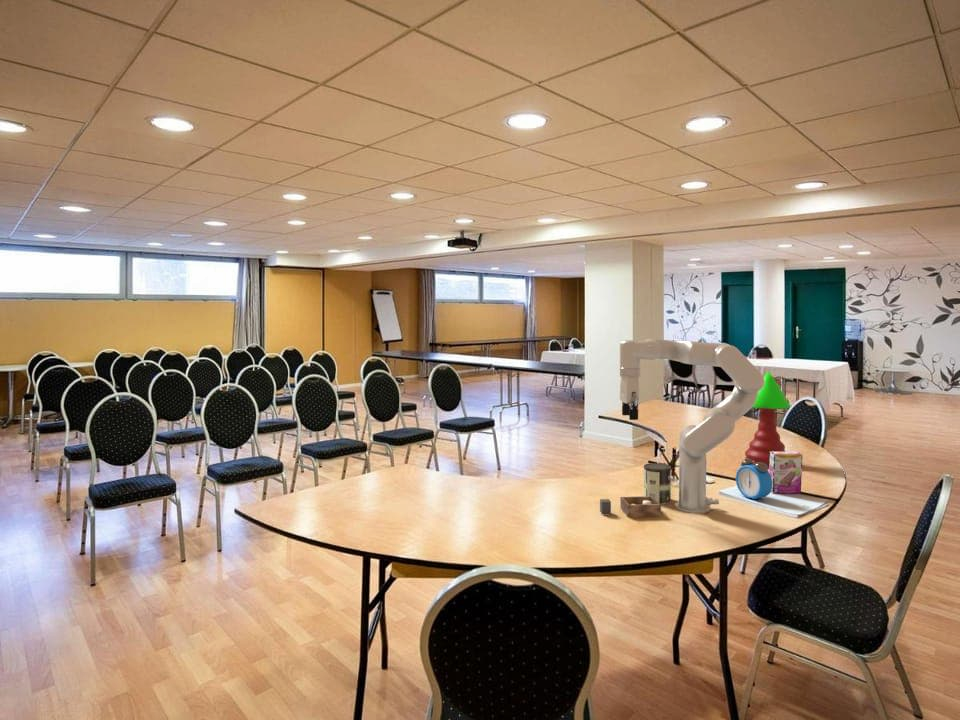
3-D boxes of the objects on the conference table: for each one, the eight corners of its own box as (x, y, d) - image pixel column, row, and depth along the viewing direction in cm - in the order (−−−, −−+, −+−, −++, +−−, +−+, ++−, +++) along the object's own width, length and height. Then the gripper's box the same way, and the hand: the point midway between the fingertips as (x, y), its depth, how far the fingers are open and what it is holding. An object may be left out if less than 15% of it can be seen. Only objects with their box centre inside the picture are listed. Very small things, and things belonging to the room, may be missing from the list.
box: (651, 509, 222) (652, 496, 222) (660, 518, 212) (661, 504, 212) (620, 509, 222) (620, 496, 221) (627, 519, 212) (627, 505, 211)
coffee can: (669, 497, 235) (669, 463, 234) (672, 506, 225) (672, 469, 224) (642, 496, 237) (642, 462, 236) (644, 504, 227) (644, 469, 226)
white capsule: (649, 510, 219) (649, 500, 218) (652, 513, 216) (652, 502, 215) (641, 510, 218) (641, 500, 218) (644, 513, 215) (644, 503, 215)
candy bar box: (773, 493, 238) (773, 454, 237) (768, 490, 243) (769, 451, 242) (802, 494, 237) (803, 454, 236) (796, 490, 242) (797, 451, 241)
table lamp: (779, 458, 294) (781, 369, 291) (796, 469, 274) (799, 373, 271) (738, 458, 296) (739, 369, 293) (752, 468, 276) (754, 373, 273)
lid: (618, 511, 222) (618, 495, 221) (626, 521, 212) (626, 504, 211) (585, 512, 222) (585, 496, 221) (591, 521, 211) (591, 505, 211)
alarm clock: (734, 494, 238) (735, 457, 237) (746, 492, 241) (747, 456, 239) (761, 503, 226) (761, 465, 225) (773, 501, 228) (773, 463, 227)
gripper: (614, 370, 231) (614, 413, 233) (626, 375, 214) (626, 421, 215) (633, 370, 232) (633, 413, 233) (647, 374, 214) (646, 421, 216)
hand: (629, 417), depth 224 cm, fingers open, 9 cm apart
